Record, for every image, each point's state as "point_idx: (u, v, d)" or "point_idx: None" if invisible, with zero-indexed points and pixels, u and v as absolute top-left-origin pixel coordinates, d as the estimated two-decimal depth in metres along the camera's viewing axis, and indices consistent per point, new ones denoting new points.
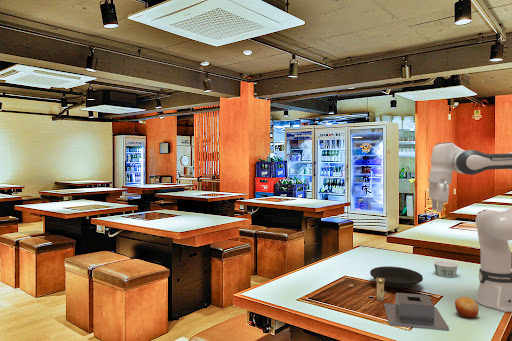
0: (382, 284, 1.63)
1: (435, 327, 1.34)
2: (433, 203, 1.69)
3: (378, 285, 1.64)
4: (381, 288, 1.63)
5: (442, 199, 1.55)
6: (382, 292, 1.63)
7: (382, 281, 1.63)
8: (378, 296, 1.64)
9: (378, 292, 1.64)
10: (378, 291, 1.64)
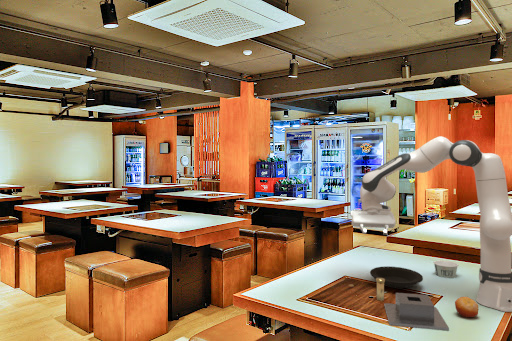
0: (382, 284, 1.63)
1: (435, 327, 1.34)
2: (385, 230, 1.78)
3: (378, 285, 1.64)
4: (381, 288, 1.63)
5: (352, 223, 1.81)
6: (382, 292, 1.63)
7: (382, 281, 1.63)
8: (378, 296, 1.64)
9: (378, 292, 1.64)
10: (378, 291, 1.64)
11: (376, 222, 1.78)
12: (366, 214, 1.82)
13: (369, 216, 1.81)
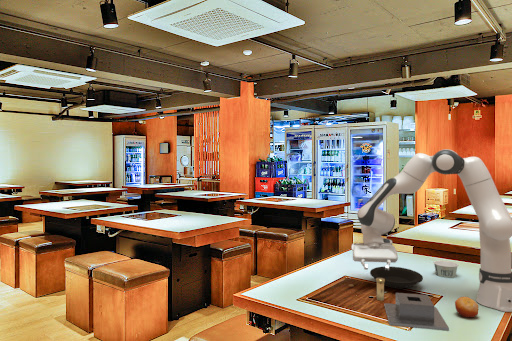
0: (382, 284, 1.63)
1: (435, 327, 1.34)
2: (387, 265, 1.74)
3: (378, 285, 1.64)
4: (381, 288, 1.63)
5: (353, 258, 1.77)
6: (382, 292, 1.63)
7: (382, 281, 1.63)
8: (378, 296, 1.64)
9: (378, 292, 1.64)
10: (378, 291, 1.64)
11: (378, 257, 1.74)
12: (367, 248, 1.78)
13: (370, 250, 1.77)
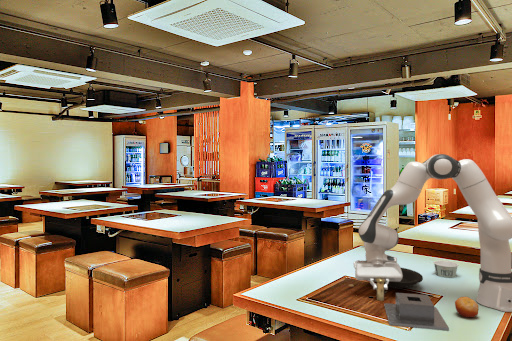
0: (382, 284, 1.63)
1: (435, 327, 1.34)
2: (386, 284, 1.66)
3: (378, 285, 1.64)
4: (381, 288, 1.63)
5: (355, 276, 1.69)
6: (382, 292, 1.63)
7: (382, 281, 1.63)
8: (378, 296, 1.64)
9: (378, 292, 1.64)
10: (378, 291, 1.64)
11: (382, 276, 1.66)
12: (371, 267, 1.70)
13: (374, 269, 1.69)
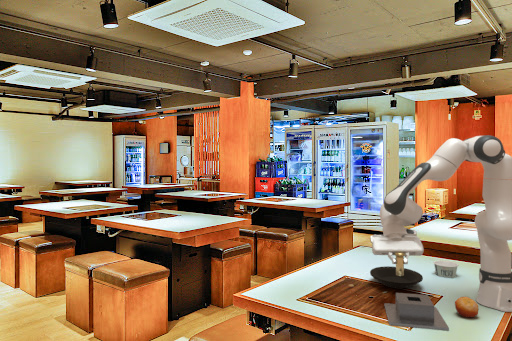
0: (402, 258, 1.52)
1: (435, 327, 1.34)
2: None
3: (397, 259, 1.52)
4: (401, 262, 1.52)
5: (372, 251, 1.58)
6: (402, 267, 1.52)
7: (402, 255, 1.51)
8: (397, 271, 1.52)
9: (397, 267, 1.52)
10: (397, 266, 1.52)
11: (401, 250, 1.55)
12: (389, 240, 1.59)
13: (392, 242, 1.58)
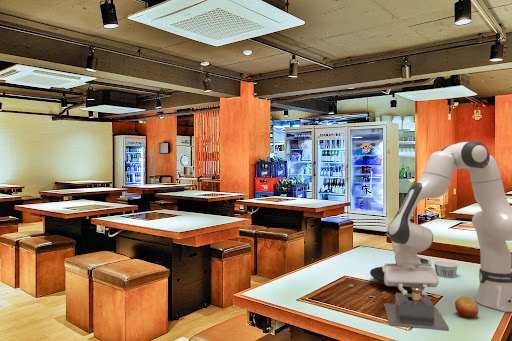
0: (419, 294, 1.44)
1: (435, 327, 1.34)
2: (423, 290, 1.46)
3: (414, 295, 1.44)
4: (417, 298, 1.44)
5: (385, 282, 1.50)
6: None
7: (419, 291, 1.43)
8: None
9: None
10: None
11: (415, 281, 1.47)
12: (402, 270, 1.51)
13: (406, 273, 1.50)
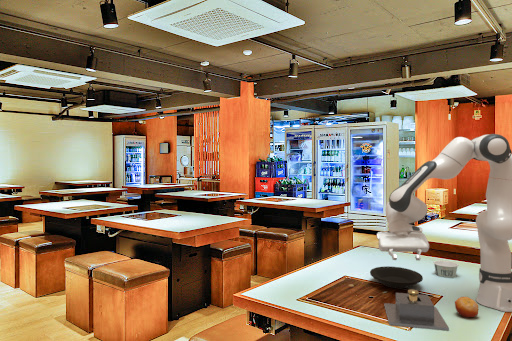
0: (415, 297, 1.44)
1: (435, 327, 1.34)
2: (418, 254, 1.57)
3: (411, 298, 1.45)
4: None
5: (379, 247, 1.61)
6: None
7: (415, 293, 1.44)
8: None
9: None
10: None
11: (407, 246, 1.58)
12: (395, 237, 1.62)
13: (398, 239, 1.61)
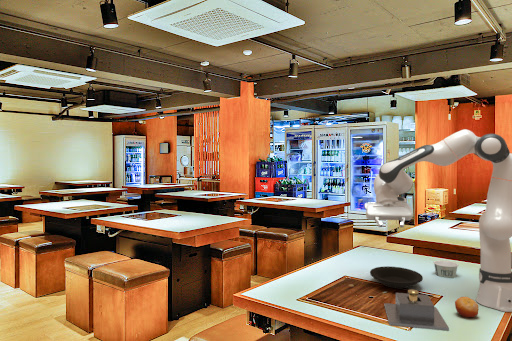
0: (415, 297, 1.44)
1: (435, 327, 1.34)
2: None
3: (411, 298, 1.45)
4: None
5: (366, 216, 1.74)
6: None
7: (415, 293, 1.44)
8: None
9: None
10: None
11: (392, 214, 1.71)
12: (381, 207, 1.74)
13: (384, 208, 1.73)
